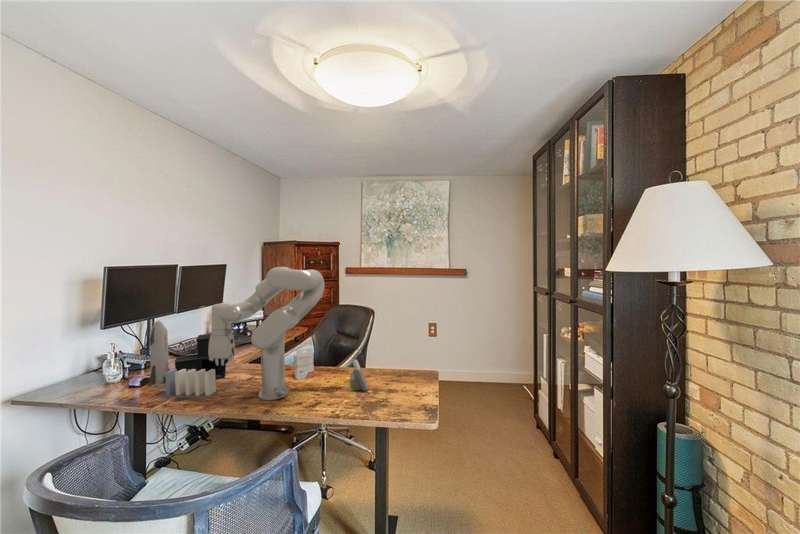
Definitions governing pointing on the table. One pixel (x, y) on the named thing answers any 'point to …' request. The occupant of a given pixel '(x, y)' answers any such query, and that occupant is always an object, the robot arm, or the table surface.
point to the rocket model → (158, 353)
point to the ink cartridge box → (304, 363)
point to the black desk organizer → (198, 358)
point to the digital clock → (357, 378)
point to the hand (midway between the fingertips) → (221, 373)
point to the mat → (189, 395)
